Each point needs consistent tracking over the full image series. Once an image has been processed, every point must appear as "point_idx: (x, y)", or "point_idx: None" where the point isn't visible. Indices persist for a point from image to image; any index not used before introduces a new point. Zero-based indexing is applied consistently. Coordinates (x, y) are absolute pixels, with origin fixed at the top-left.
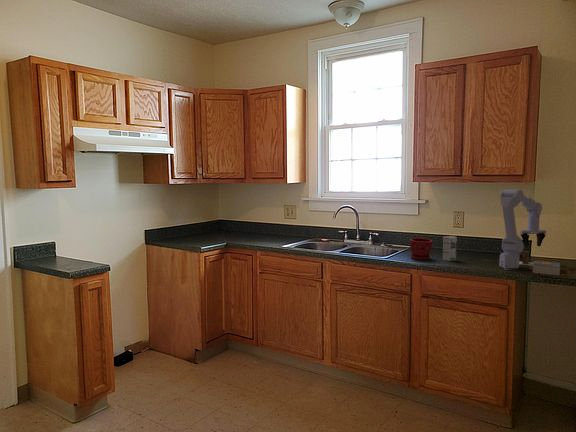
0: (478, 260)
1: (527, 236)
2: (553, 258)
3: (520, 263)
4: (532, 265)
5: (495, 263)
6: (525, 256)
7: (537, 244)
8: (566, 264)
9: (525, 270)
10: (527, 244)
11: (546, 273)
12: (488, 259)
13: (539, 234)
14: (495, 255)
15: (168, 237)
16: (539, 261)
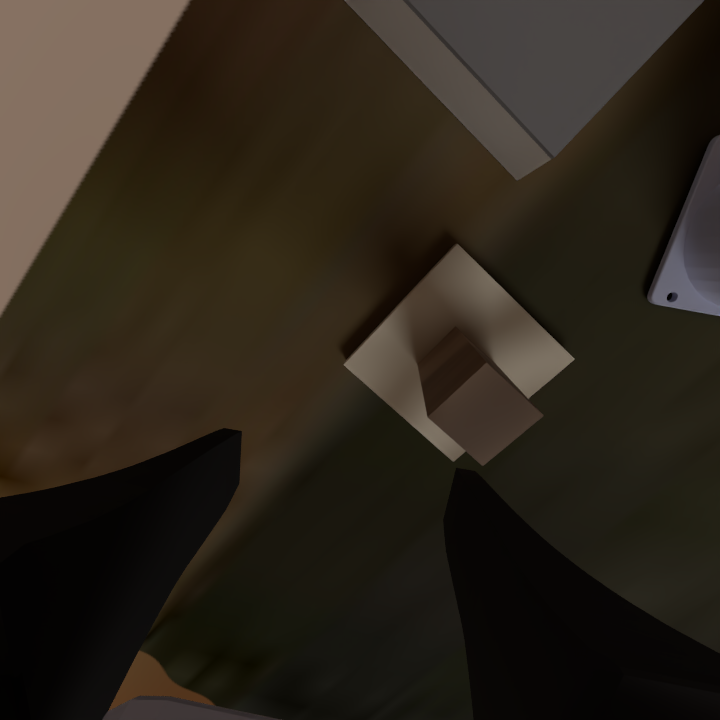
0: (706, 610)
1: (651, 643)
2: None
3: (513, 366)
4: (468, 255)
5: (674, 480)
6: (497, 368)
7: (228, 493)
8: (60, 296)
9: (689, 112)
10: (479, 486)
11: None
12: None
13: (36, 687)
14: (395, 700)
15: None
16: (528, 84)
